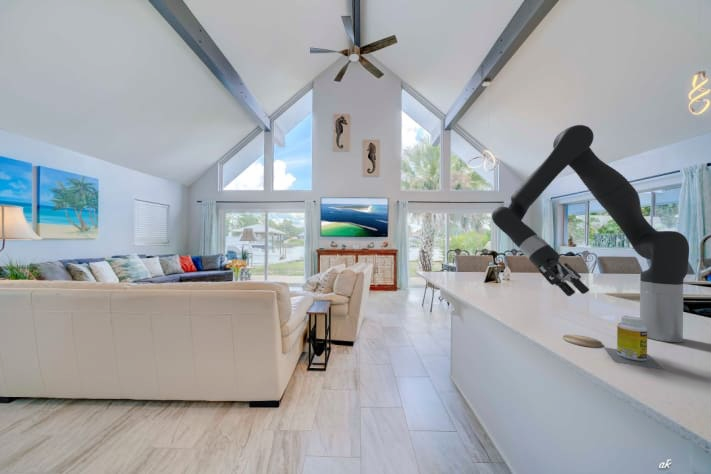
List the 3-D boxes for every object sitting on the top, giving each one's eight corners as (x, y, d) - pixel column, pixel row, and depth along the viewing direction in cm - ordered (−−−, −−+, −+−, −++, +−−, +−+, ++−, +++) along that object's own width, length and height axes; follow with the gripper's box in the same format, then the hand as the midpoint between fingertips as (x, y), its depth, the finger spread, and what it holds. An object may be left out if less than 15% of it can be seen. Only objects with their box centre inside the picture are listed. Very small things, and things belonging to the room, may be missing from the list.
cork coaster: (561, 334, 91) (561, 332, 91) (598, 339, 87) (598, 337, 87) (565, 343, 84) (565, 341, 84) (605, 349, 79) (605, 347, 79)
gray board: (603, 348, 81) (603, 346, 81) (647, 355, 76) (647, 353, 76) (614, 362, 71) (614, 361, 71) (665, 371, 67) (665, 369, 67)
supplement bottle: (643, 363, 70) (644, 321, 70) (613, 355, 75) (614, 316, 75) (649, 358, 73) (650, 318, 73) (620, 351, 78) (621, 313, 78)
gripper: (535, 244, 88) (578, 287, 78) (559, 244, 95) (601, 284, 85) (517, 260, 93) (556, 303, 83) (541, 259, 100) (580, 298, 90)
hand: (579, 293), depth 84 cm, fingers open, 8 cm apart
